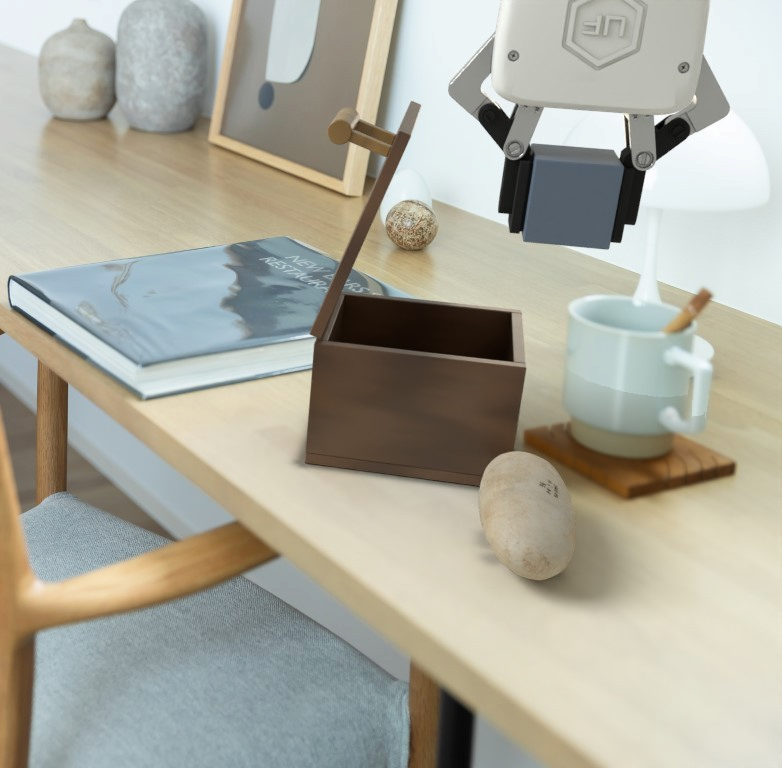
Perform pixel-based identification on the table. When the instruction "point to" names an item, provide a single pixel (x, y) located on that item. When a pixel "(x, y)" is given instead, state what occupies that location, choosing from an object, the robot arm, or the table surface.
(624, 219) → the robot arm
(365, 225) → the lid
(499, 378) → the keepsake box
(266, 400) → the table surface
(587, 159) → the block
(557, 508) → the stone
